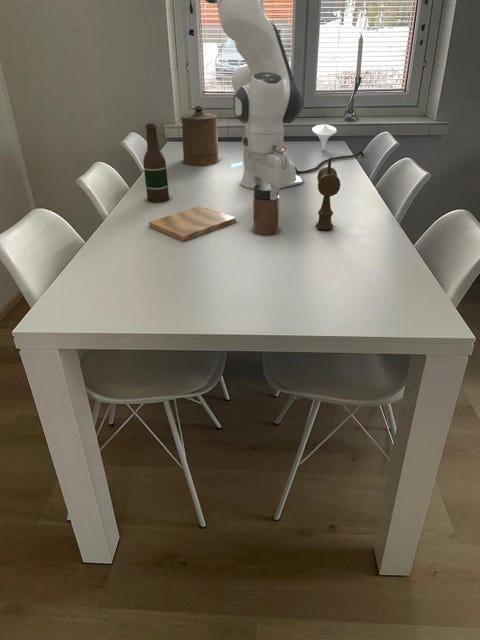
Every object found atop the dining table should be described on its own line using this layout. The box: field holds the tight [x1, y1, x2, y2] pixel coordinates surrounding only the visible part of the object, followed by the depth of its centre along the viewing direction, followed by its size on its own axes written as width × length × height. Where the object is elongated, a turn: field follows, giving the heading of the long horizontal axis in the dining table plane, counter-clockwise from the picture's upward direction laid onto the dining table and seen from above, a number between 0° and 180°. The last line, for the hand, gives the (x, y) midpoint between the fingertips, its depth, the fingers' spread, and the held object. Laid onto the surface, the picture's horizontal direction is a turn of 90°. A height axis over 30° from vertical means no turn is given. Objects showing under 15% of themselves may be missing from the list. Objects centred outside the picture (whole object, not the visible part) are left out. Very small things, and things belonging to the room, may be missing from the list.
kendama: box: [315, 157, 341, 231], centre depth 136 cm, size 6×10×20 cm, turn 175°
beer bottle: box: [143, 123, 170, 203], centre depth 160 cm, size 8×8×24 cm
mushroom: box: [311, 123, 338, 152], centre depth 220 cm, size 10×11×12 cm
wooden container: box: [181, 105, 219, 166], centre depth 204 cm, size 15×15×22 cm
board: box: [148, 205, 237, 242], centre depth 145 cm, size 20×16×2 cm
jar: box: [252, 195, 280, 236], centre depth 137 cm, size 7×7×12 cm
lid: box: [253, 184, 280, 199], centre depth 134 cm, size 7×7×2 cm
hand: (265, 195), depth 135 cm, fingers closed on lid, 6 cm apart
